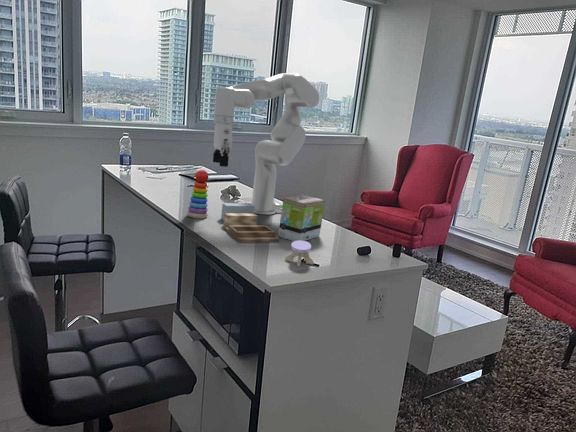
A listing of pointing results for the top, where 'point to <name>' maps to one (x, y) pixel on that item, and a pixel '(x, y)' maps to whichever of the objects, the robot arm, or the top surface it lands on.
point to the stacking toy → (199, 196)
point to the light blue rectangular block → (236, 208)
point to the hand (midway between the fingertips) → (220, 164)
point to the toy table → (300, 252)
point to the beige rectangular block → (239, 219)
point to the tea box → (301, 218)
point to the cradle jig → (252, 233)
